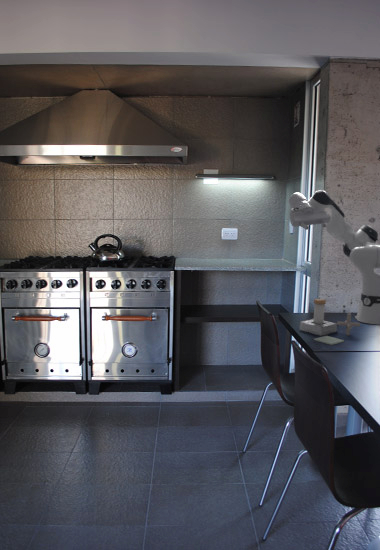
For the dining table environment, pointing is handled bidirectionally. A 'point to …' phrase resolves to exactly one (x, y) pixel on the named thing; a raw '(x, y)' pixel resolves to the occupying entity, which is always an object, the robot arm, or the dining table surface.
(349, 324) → the pipe connector
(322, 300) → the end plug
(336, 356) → the dining table surface
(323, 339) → the rubber mat
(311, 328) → the housing block
